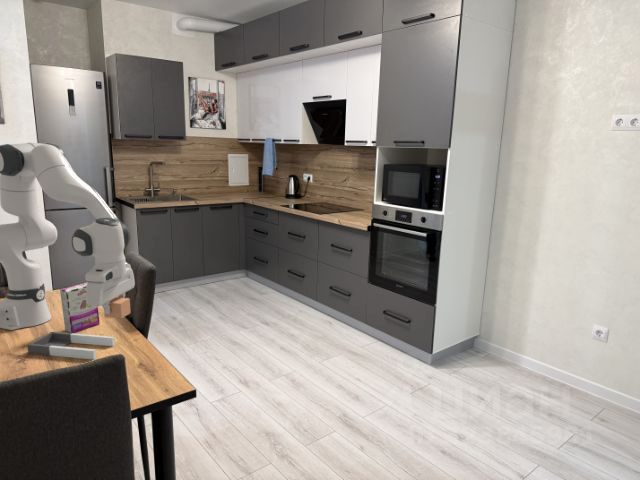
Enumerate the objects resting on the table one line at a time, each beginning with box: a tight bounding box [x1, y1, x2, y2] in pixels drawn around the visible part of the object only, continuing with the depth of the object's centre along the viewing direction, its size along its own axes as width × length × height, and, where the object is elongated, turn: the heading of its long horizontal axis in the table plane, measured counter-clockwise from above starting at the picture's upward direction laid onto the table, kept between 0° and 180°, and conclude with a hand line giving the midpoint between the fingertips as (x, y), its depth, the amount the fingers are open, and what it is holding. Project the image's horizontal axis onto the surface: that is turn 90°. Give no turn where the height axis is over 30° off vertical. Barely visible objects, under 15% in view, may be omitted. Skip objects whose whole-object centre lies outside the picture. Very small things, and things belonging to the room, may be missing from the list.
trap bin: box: [26, 331, 72, 356], centre depth 153 cm, size 8×11×3 cm
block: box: [103, 297, 132, 319], centre depth 146 cm, size 6×5×5 cm
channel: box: [49, 333, 116, 360], centre depth 151 cm, size 16×11×3 cm
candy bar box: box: [59, 281, 101, 334], centre depth 168 cm, size 11×5×16 cm, turn 148°
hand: (114, 309), depth 146 cm, fingers closed on block, 5 cm apart
